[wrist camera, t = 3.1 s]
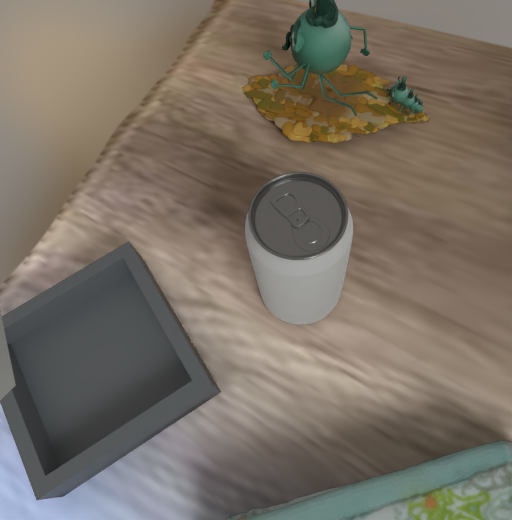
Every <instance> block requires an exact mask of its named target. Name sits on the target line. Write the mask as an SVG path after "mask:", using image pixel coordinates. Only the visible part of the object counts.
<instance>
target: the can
mask: <svg viewBox="0 0 512 520" xmlns="http://www.w3.org/2000/svg"><path fill="white" fill-rule="evenodd" d="M352 236H353V222H352V217H351V214H350V211H349V209H348V207H347V203H346V200H345V198H344V196H343V194H342V193H341V192H340V190H339V189H338V188H337V187H336V186H335V185H334V184H333V183H332V182H330V181H329V180H327V179H325V178H324V177H321V176H319V175H316V174H312V173H307V172H291V173H286V174H282V175H280V176H277V177H275V178H273V179H271V180H269V181H268V182H267V183H265V184H264V185H263V186H262V187H261V188H260V189H259V190H258V191H257V193H256V194H255V196H254V197H253V199H252V201H251V204H250V207H249V212H248V214H247V218H246V222H245V238H246V243H247V247H248V251H249V255H250V259H251V263H252V266H253V270H254V274H255V277H256V281H257V284H258V288H259V291H260V294H261V297H262V300H263V302H264V304H265V306H266V307H267V309H268V310H269V311H270V312H271V313H272V314H273V315H274V316H276V317H277V318H279V319H280V320H282V321H285V322H288V323H291V324H298V325H303V324H311V323H315V322H317V321H319V320H321V319H323V318H324V317H326V316H327V315H328V314H329V313H330V312H331V311H332V310H333V309H334V308H335V306H336V305H337V303H338V301H339V298H340V295H341V292H342V287H343V283H344V278H345V273H346V268H347V264H348V259H349V254H350V248H351V243H352Z"/></svg>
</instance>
